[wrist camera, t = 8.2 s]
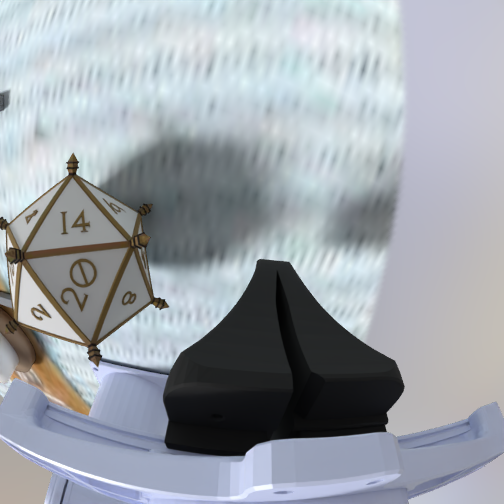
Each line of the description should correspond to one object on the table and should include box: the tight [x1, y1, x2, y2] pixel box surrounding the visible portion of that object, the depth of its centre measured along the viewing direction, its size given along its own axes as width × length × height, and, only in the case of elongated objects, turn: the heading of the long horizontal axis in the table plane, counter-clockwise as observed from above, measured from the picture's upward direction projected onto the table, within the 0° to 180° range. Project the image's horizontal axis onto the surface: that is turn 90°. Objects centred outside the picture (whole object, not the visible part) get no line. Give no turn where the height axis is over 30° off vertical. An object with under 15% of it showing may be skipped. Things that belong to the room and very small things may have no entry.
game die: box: [0, 153, 169, 367], centre depth 11 cm, size 9×8×10 cm
